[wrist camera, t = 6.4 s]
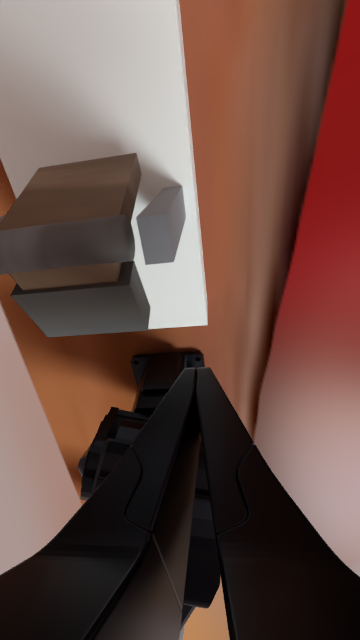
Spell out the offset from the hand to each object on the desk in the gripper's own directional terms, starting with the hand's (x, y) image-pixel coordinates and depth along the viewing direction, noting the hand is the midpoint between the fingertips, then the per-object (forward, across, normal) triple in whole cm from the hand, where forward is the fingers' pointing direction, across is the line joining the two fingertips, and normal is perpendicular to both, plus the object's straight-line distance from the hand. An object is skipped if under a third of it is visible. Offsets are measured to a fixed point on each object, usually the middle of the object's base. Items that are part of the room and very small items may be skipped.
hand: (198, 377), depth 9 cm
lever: (+9, +5, -4) cm, 11 cm away
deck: (+13, +5, -4) cm, 14 cm away
